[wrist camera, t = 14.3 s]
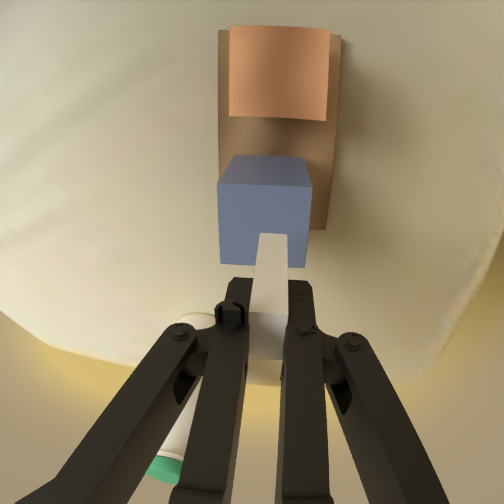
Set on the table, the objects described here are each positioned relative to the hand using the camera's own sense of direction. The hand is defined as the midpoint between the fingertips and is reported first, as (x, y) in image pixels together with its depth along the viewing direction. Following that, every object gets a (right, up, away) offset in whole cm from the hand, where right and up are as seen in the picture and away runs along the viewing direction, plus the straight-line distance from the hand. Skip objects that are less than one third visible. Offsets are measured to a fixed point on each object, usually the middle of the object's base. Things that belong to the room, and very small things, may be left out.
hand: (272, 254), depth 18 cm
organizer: (+1, +11, +8) cm, 14 cm away
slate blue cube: (0, +6, +9) cm, 11 cm away
